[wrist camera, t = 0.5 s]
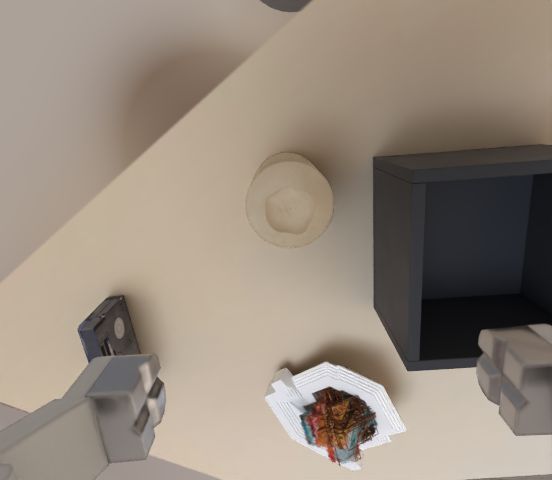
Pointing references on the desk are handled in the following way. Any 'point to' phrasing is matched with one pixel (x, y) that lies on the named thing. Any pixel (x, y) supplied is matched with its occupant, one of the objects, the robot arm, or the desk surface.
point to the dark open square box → (461, 249)
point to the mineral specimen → (334, 411)
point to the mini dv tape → (108, 330)
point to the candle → (289, 201)
